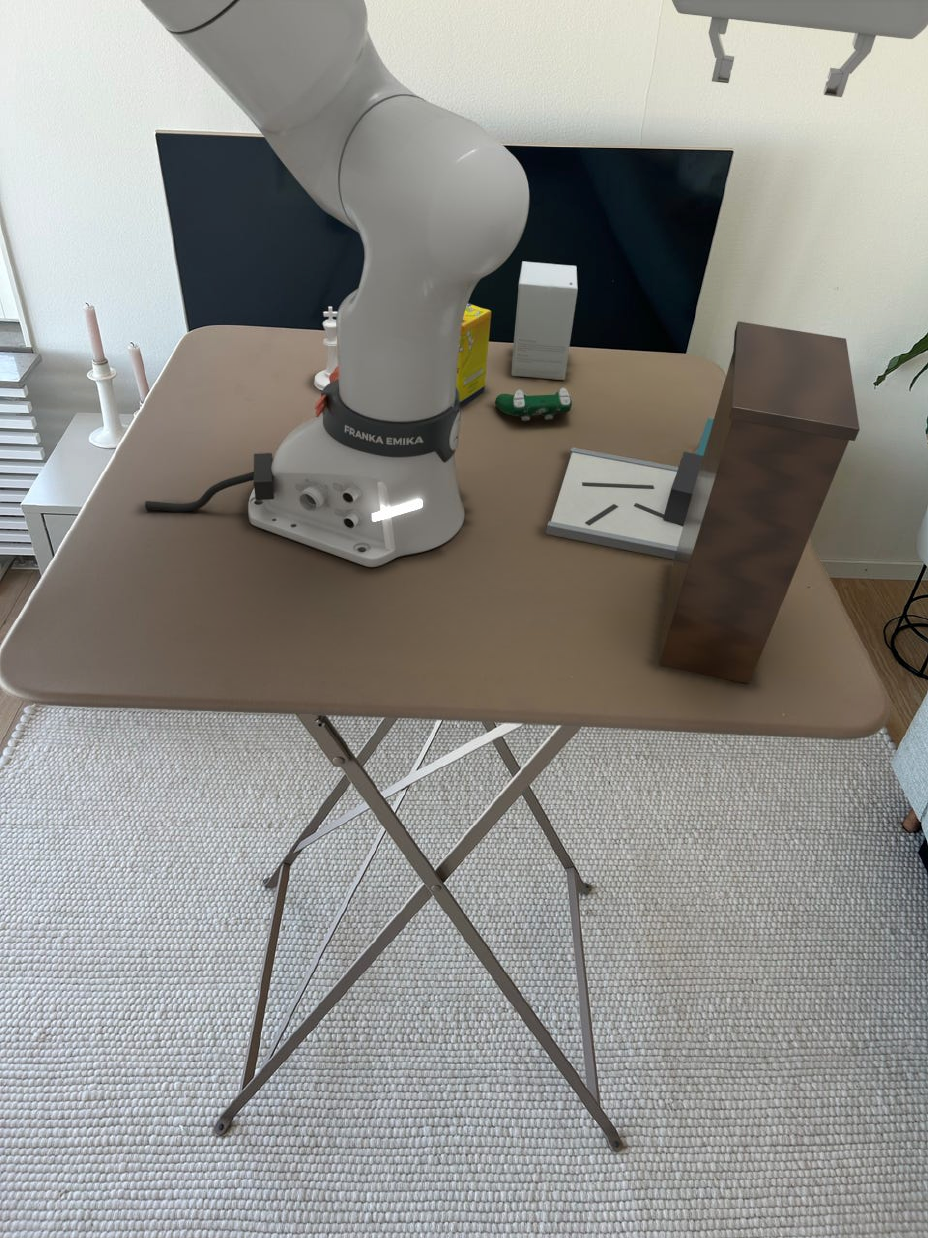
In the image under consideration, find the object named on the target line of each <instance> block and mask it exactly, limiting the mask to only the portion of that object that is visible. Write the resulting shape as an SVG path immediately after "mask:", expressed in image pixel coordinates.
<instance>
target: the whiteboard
mask: <svg viewBox="0 0 928 1238" xmlns="http://www.w3.org/2000/svg"><path fill="white" fill-rule="evenodd" d="M678 468H679V466H675V465H669V464H664V463H660V462H659V463H658V462H654V461H648V460H644V459H637V458H632V457H626V456H621V455H616V454H610V453H604V452H600V451H595V450H588V449H583V448H578V447H571V448H570V453H569V457H568V464H567V467H566V470H565V473H564V478H563V481H562V484H561V486H560V491H559V493H558V497H557V500H556V503H555V506H554V510H553V513H552V517H551V520H548V522H547V526H546V531H545V534H546V535H549V536H554V537H559V538H564V539H569V540H573V541H579V542H583V543H589V544H594V545H598V546H604V547H609V548H612V549H613V548H615V549H618V550H619V549H620V550H624V551H628V552H629V551H630V552H632V553H633V552H635V553H639V554H643V555H647V556H648V555H650V556H654V557H659V558H663V559H668V560H673V561H674V557H675V554H676V550H677V547H678V543H679V540H680V536H681V533H682V529H683V526H684V525H682V524H678V523H674V522H670V521H666V520H663V517H664V513H665V510H666V506H667V502H668V498H669V494H670V491H671V487H672V485H673V482H674V479H675V476H676V473H677V471H678Z"/></svg>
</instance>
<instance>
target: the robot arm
mask: <svg viewBox="0 0 928 1238" xmlns="http://www.w3.org/2000/svg"><path fill="white" fill-rule="evenodd" d="M139 1H140V2H141V3H142V4H143V6H144V7H145V8H146V9H147V10H148V11H149V12H150V14H152V16H153V17H154V18H155V19H156V20H157V21H158V22H159V23H160V24H161V26H162V27H163V28H164V29H165V30H166V31H167V32H168V33H169V34H170V36H172V37H173V39H175V40H176V42H177V43H179V45H180V46H181V47H182V48H183V49H184V50H185V52H187V53H188V55H190V56H191V57H192V59H193V60H194V61H195V62H196V63H197V64H198V65H199V66H200V67H201V68H202V69H203V70H204V71H205V73H207V75H208V76H209V77H210V78H211V79H212V80H213V81H214V82H215V83H216V84H217V85H218V86H219V87H220V89H222V90H223V91H224V92H225V93H226V95H227V96H229V98H230V99H231V100H232V101H233V102H234V104H236V105H237V106H238V107H239V108H240V110H241V111H242V112H243V113H244V114H245V115H246V117H248V119H250V121H251V122H252V123H253V124H254V125H255V127H256V128H257V130H258V131H259V132H260V133H261V135H262V136H263V137H264V139H265V141H267V143H268V145H269V147H270V148H271V149H272V150H273V152H274V153H275V154H276V156H277V157H278V158H279V159H280V162H282V164H283V165H284V166H285V167H286V168H287V170H288V171H289V172H290V174H291V175H292V176H293V178H294V179H295V180H296V181H297V182H298V183H299V184H300V186H301V187H302V188H303V190H304V191H305V192H306V193H307V194H308V196H310V198H311V199H312V200H313V201H314V202H315V203H316V205H317V206H318V207H320V209H321V210H322V211H324V212H325V213H326V214H328V215H330V216H332V218H334V219H336V220H338V221H339V222H341V223H343V224H344V225H345V226H347V227H348V228H350V229H352V230H353V231H355V232H357V233H358V234H359V236H360V239H361V242H362V245H363V251H364V252H363V253H364V257H363V258H364V259H363V267H362V273H361V277H360V281H359V284H358V287H357V289H354V291H352V292H351V293H350V294H348V295H347V296H346V297H345V298H344V299H343V300H342V302H341V303H340V305H339V307H338V310H337V312H338V313H337V317H335V320H336V328H337V335H336V337H337V346H336V349H337V356H338V366H337V367H336V368H335V370H334V372H332V373H331V374H330V377H329V381H330V383H329V384H328V385H326V386H325V388H324V389H323V390H321V392H320V393H321V394H320V398H319V399H318V400H317V402H316V403H315V407H314V410H315V416H314V417H312V418H310V419H308V420H306V421H304V422H302V423H301V424H299V425H297V426H296V427H295V428H294V429H293V430H292V431H291V432H289V434H288V435H287V436H286V437H285V438H284V440H282V442H281V443H280V444H279V446H278V448H277V449H276V452H275V454H274V455H273V453H272V452H263V453H262V452H261V453H254V454H253V471H250V472H247V473H243V474H240V475H237V476H233V477H230V478H227V479H223V480H221V481H219V482H217V483H215V484H214V485H211V486H210V487H208V489H207V490H206V491H205V492H204V493H203V494H202V495H201V497H199V498H198V499H196V500H195V501H192V502H187V503H171V502H164V501H163V502H162V501H154V500H145V502H144V507H145V510H155V511H156V510H157V511H164V512H174V513H186V512H192V511H196V510H199V509H201V508H203V507H204V506H205V505H207V504H208V503H209V502H210V501H211V499H213V497H214V496H215V495H216V494H217V493H219V492H221V491H223V490H225V489H229V488H231V487H234V486H237V485H240V484H244V483H248V482H253V489H252V490H251V494H250V496H249V500H248V505H247V515H248V520H249V523H250V524H251V525H252V526H254V527H256V528H259V529H262V530H264V531H267V532H269V533H273V534H276V535H278V536H281V537H284V538H286V539H289V540H292V541H295V542H297V543H300V544H303V545H306V546H309V547H311V548H314V549H317V550H319V551H322V552H325V553H328V554H331V555H333V556H336V557H339V558H342V559H344V560H347V561H350V562H353V563H356V564H359V565H361V566H364V567H368V568H376V567H379V566H380V567H381V566H383V565H385V564H387V563H389V562H391V561H393V560H395V559H396V558H399V557H403V556H408V555H415V554H419V553H423V552H427V551H430V550H433V549H435V548H437V547H440V546H442V545H444V544H445V543H447V542H449V541H450V540H451V539H453V537H455V536H456V535H457V533H458V532H459V531H460V530H461V528H462V526H463V524H464V521H465V508H464V505H463V502H462V498H461V494H460V488H459V483H458V482H459V481H458V475H457V465H456V450H457V449H458V445H459V439H460V430H461V411H460V408H461V407H460V395H459V391H458V389H457V388H456V381H457V367H458V354H459V343H460V332H461V326H462V321H463V316H464V313H465V309H466V306H467V303H469V301H470V298H471V297H472V293H473V292H474V290H475V288H476V287H477V285H478V283H479V282H480V280H482V279H483V278H485V277H487V276H488V275H491V274H492V273H493V272H495V271H496V270H497V269H498V268H500V267H501V266H502V265H503V264H504V263H505V262H506V261H507V260H508V258H509V257H510V256H511V254H512V253H513V252H514V250H515V249H516V248H517V245H518V244H519V242H520V240H521V238H522V236H523V234H524V231H525V228H526V225H527V221H528V215H529V209H530V188H529V182H528V179H527V174H526V172H525V170H524V168H523V166H522V164H521V163H520V162H519V160H518V159H517V158H516V156H515V155H514V154H513V153H511V152H510V150H509V149H507V147H505V146H504V145H503V144H502V143H501V142H500V141H499V139H497V138H496V137H495V136H494V135H492V134H491V133H490V132H488V130H487V129H485V128H484V127H483V126H482V125H480V124H479V123H477V122H476V121H473V120H471V119H470V118H466V117H464V116H463V115H460V114H457V113H456V112H453V111H451V110H448V109H446V108H444V107H442V106H439V105H437V104H434V103H432V102H430V101H428V100H426V99H425V98H423V97H421V96H419V95H417V94H416V93H415V92H413V91H412V90H410V89H409V88H408V87H407V86H405V85H404V84H403V83H401V82H400V80H398V79H397V78H396V76H394V75H393V74H392V73H391V72H390V70H389V69H388V68H387V66H386V65H385V64H384V62H383V60H382V58H381V57H380V55H379V52H378V51H377V48H376V47H375V45H374V42H373V39H372V38H371V35H370V33H369V30H368V25H369V20H368V18H369V17H368V10H367V5H366V2H365V0H139ZM671 3H672V4H673V6H674V8H675V10H676V12H677V13H678V14H682V15H690V16H699V17H708V18H711V20H710V24H709V28H708V36H709V40H710V44H711V48H712V52H713V56H714V58H715V64H714V67H713V72H712V77H711V82H713V83H724V84H729V83H730V79H731V74H732V69H733V66H734V60H735V56H733V55H728V54H727V55H726V53H725V49H724V46H723V40H722V36H721V35H725V34H726V33H727V28H728V24H729V20H734V21H743V22H751V23H752V22H753V23H763V24H770V25H779V26H788V27H798V28H805V29H816V30H824V31H832V32H840V33H851V34H854V35H853V39H852V42H851V44H852V47H853V49H854V51H853V52H852V54H850V56H849V57H848V58H847V59H846V60H845V62H844V63H843V64H842V65H841V66H840V68H837V67H830V68H829V71H828V74H827V81H826V82H825V84H824V87H823V96H829V97H837V98H842V97H843V94H844V92H845V90H846V86H847V83H848V80H849V76H850V75H851V74H853V72H854V71H855V70H856V69H857V68H858V66H860V65H861V63H863V61H865V59H866V58H867V57H868V56H869V55H870V54H871V52H872V49H873V46H874V43H875V40H876V37H886V38H895V39H904V40H913V39H915V38H916V37H918V36H919V35H920V34H921V33H922V32H923V31H924V30H925V29H926V28H927V27H928V0H671Z"/></svg>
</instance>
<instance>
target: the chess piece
mask: <svg viewBox="0 0 928 1238" xmlns="http://www.w3.org/2000/svg"><path fill="white" fill-rule="evenodd" d="M327 308H328V311H323V312H322V313H323V314H322V315H323V317H324V318H325V317H327V318H328V319H325V320H323V321H322V326H323V329H324V331H325V335H326V337H325V338H324V339H323V341H322V343H323V345H324V346H326V347H327V360H326V362H327V363H326V368H325V369H323V370H321V371H319V372H318V373H316V375H315V376H314V383H313V384H314V386H315V387H316V389H318V390H319V391H322V390H323V389H324V388H325V386H326V385H328V384H329V383H330V381H329V377H330V374H331V373H332V372H334V370H335V368H336V367H337V366H338V353H337V328H336V319H334V318H336V317H337V313H338V311H333V306H328V307H327Z"/></svg>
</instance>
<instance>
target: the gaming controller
mask: <svg viewBox="0 0 928 1238" xmlns="http://www.w3.org/2000/svg"><path fill="white" fill-rule="evenodd" d="M494 404H495V406H496V407H497V408H498V410H499V411H501V413H504V414H506V415H510V416H513V417H519V418H520V419H521V421H523V422H526V421H530V420H531V417H532V415H539V414H541V416H542V417H544V419H545V420H546V421H547V420H553V418H554V416H555V414H564V413H569V412H570V411H571V408H572V407H573V401H572V398H571V395H570V394H569V392H568V390H567V388H566V387H561V388H560V389H559V390H558V391H556V392H555V394H538V395H536V394H535V395H526V394H524V391H523V390H522V389H517V390H516V391H515V393H514V394H511V393H500V394H498V395H497V396H496V397H495V400H494Z"/></svg>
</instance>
